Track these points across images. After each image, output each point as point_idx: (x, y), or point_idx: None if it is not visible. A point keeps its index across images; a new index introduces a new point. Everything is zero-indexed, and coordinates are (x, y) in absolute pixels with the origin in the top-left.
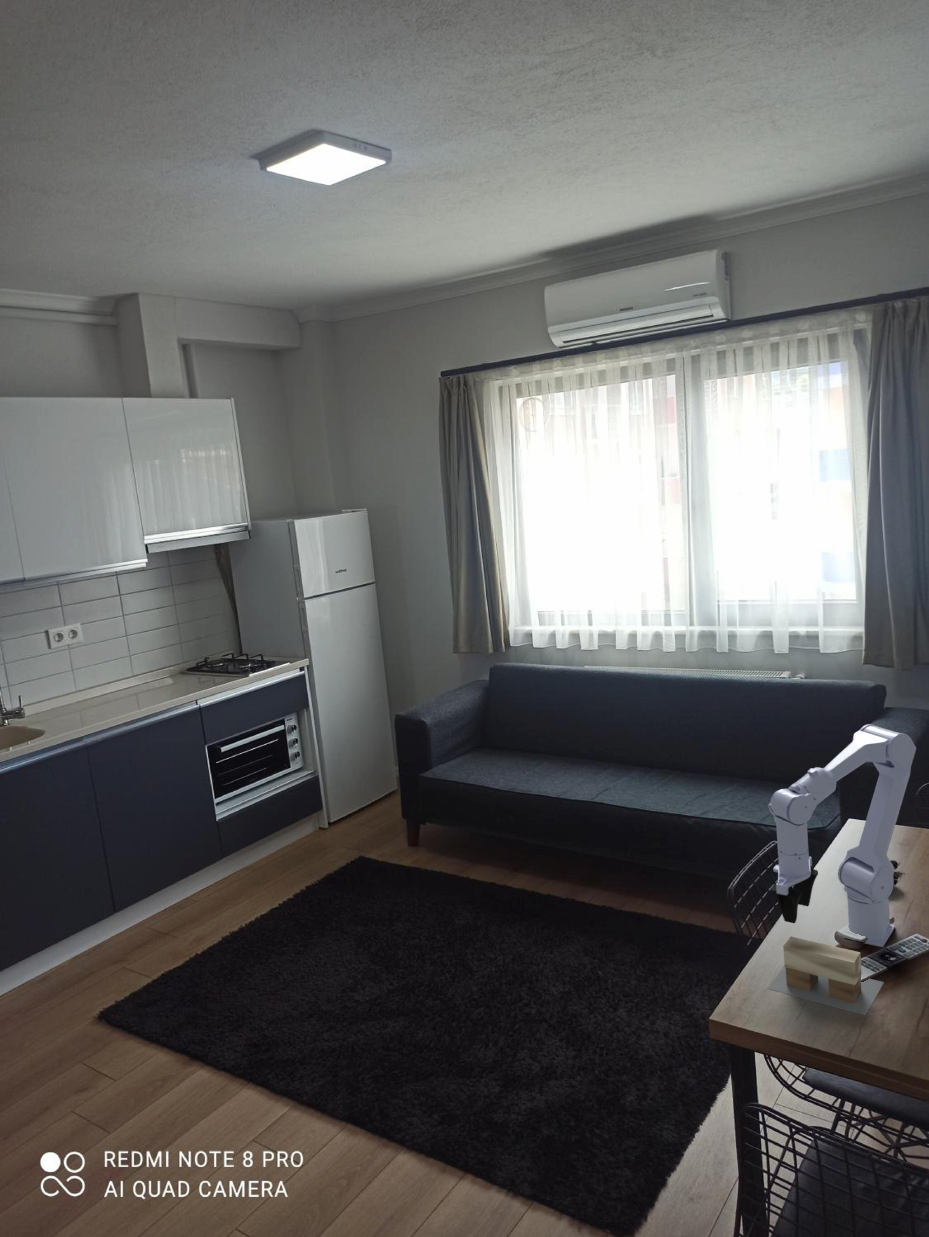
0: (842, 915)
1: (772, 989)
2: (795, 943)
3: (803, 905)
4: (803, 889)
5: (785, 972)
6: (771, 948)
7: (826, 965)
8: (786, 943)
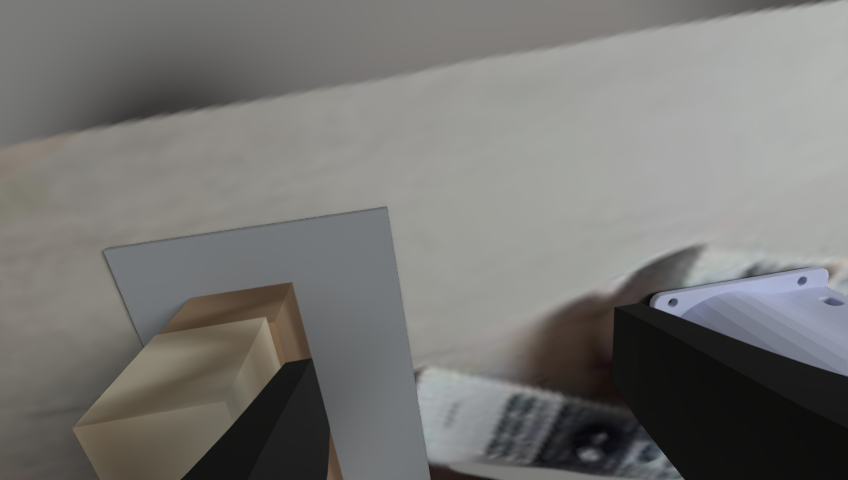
0: (837, 209)
1: (115, 270)
2: (166, 460)
3: (613, 347)
4: (733, 472)
5: (273, 248)
6: (433, 85)
7: None
8: (117, 426)
